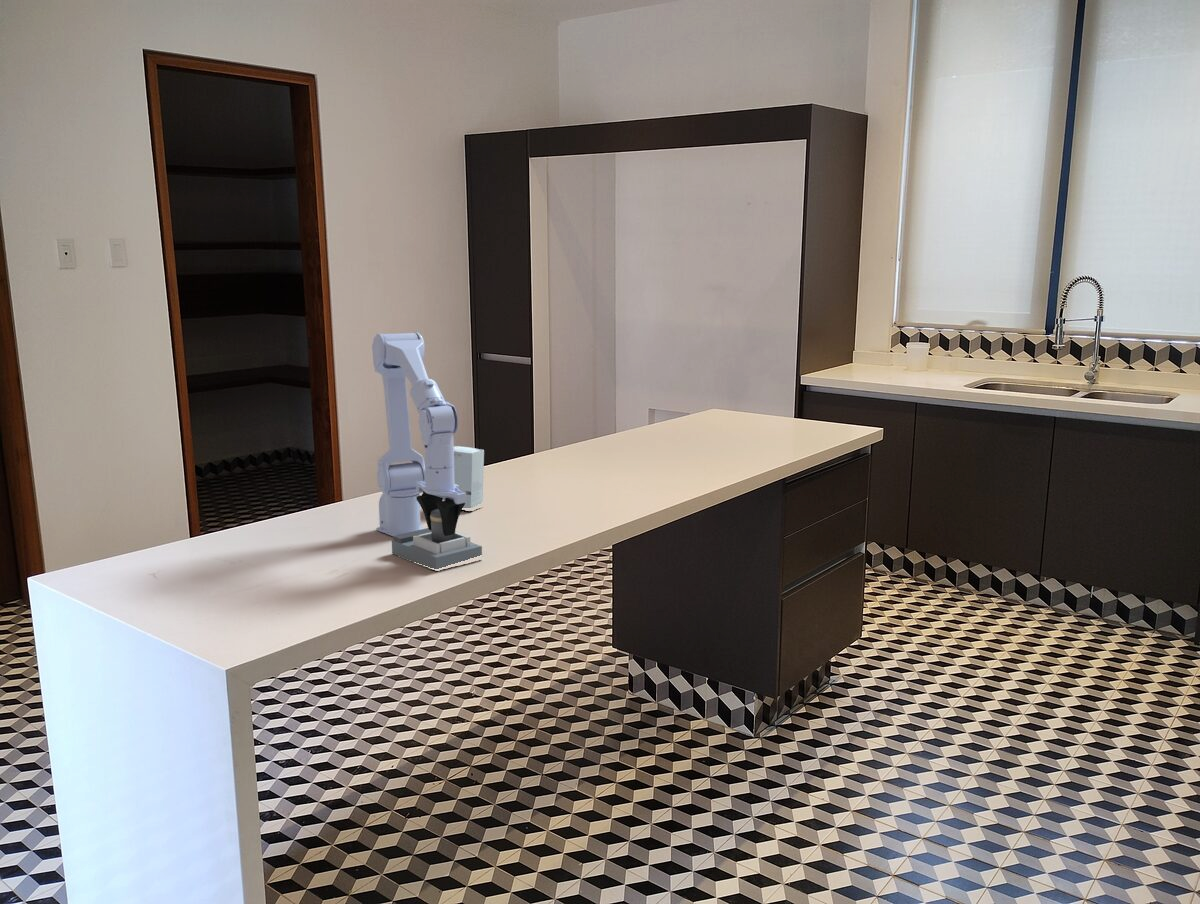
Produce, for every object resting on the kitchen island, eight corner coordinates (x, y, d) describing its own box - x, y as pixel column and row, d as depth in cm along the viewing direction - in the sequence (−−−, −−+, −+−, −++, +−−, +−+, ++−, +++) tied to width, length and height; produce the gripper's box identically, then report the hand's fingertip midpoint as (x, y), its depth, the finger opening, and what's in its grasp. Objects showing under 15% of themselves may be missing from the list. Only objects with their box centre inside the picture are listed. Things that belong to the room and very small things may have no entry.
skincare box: (442, 509, 234) (441, 449, 231) (456, 503, 240) (454, 444, 237) (472, 513, 231) (471, 452, 228) (485, 507, 236) (484, 447, 233)
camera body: (392, 554, 199) (391, 531, 198) (436, 543, 207) (436, 521, 206) (436, 572, 188) (435, 548, 187) (482, 560, 195) (481, 537, 194)
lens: (425, 540, 195) (424, 512, 194) (444, 535, 199) (443, 507, 198) (442, 545, 192) (441, 516, 191) (461, 540, 196) (460, 511, 194)
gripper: (477, 468, 190) (479, 535, 192) (435, 457, 200) (437, 521, 203) (447, 474, 185) (449, 542, 187) (406, 462, 195) (408, 527, 198)
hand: (441, 531), depth 195 cm, fingers closed on lens, 5 cm apart
